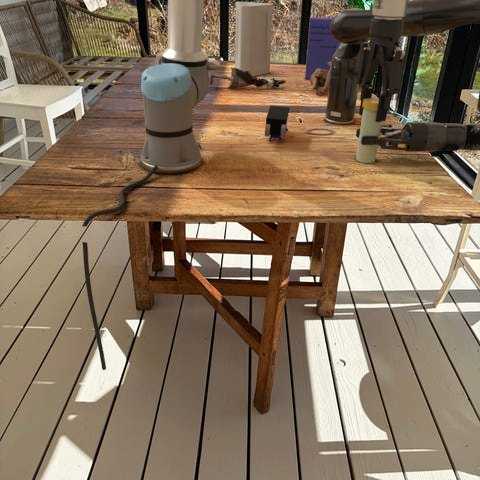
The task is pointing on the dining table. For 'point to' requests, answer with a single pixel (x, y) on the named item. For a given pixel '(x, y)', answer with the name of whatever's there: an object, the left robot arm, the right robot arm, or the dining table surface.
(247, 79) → the figurine
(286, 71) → the dining table surface
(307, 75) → the cereal box
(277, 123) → the figurine character
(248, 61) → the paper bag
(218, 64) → the toy
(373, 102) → the lid
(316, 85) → the anatomical model
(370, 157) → the jar
